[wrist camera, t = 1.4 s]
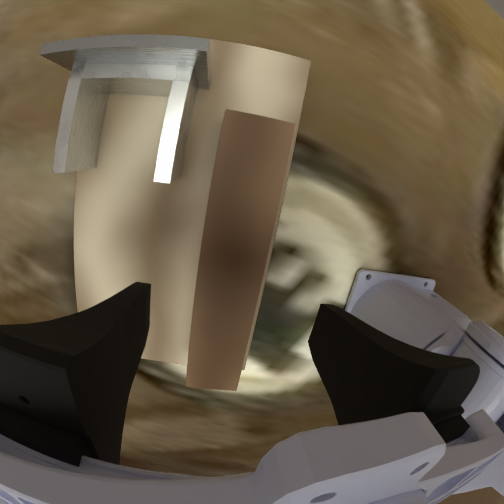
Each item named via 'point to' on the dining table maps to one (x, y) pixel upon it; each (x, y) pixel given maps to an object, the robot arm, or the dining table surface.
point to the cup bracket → (127, 92)
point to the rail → (235, 244)
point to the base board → (171, 190)
